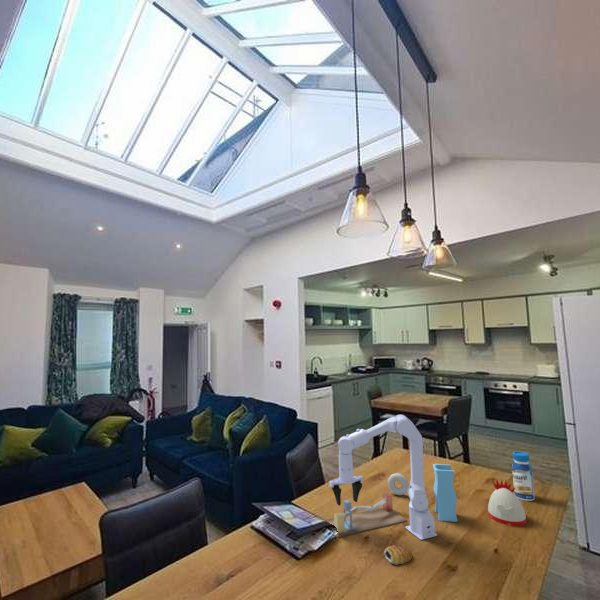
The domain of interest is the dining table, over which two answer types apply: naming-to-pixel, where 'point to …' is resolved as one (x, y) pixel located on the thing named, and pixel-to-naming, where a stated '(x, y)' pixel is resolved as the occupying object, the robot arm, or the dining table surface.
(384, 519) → the tan flat sheet
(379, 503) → the jointed linkage mechanism
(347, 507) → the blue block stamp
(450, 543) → the dining table surface
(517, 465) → the beverage bottle
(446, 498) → the vase
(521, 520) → the kitchen timer
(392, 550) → the pastry
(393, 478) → the donut
